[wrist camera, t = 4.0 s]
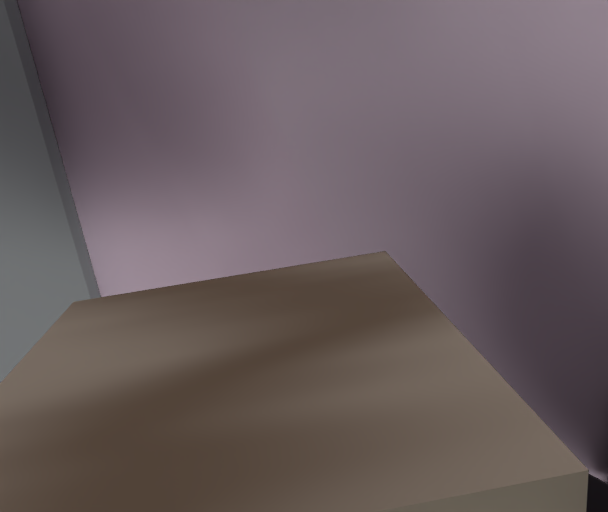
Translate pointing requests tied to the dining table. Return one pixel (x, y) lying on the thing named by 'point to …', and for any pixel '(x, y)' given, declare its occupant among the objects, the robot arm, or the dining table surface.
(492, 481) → the ash block
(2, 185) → the slate mat
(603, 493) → the robot arm
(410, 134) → the dining table surface
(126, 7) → the dining table surface
